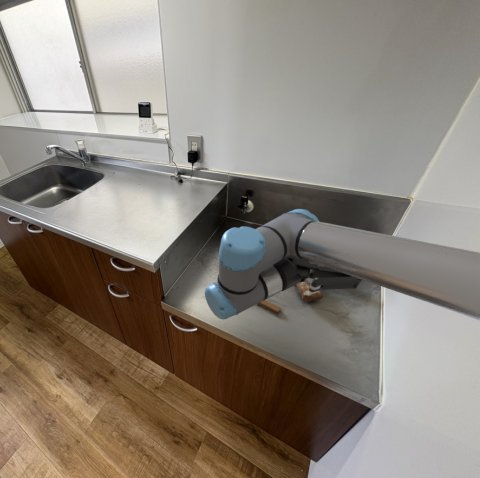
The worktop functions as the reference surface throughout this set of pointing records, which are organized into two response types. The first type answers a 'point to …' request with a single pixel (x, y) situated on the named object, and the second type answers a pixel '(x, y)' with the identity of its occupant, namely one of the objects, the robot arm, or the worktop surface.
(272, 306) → the spatula
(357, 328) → the worktop surface
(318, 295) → the reddish brown tapered cylinder
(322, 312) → the worktop surface
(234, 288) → the robot arm
